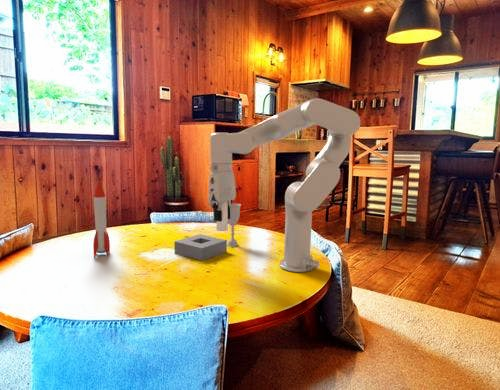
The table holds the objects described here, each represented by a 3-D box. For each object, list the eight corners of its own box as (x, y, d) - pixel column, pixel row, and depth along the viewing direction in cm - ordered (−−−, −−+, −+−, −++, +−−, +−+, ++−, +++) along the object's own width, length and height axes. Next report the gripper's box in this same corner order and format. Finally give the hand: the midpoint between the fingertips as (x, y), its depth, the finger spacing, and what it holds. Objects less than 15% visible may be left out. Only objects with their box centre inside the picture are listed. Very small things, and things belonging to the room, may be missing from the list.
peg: (230, 229, 133) (229, 196, 132) (222, 231, 130) (222, 197, 128) (221, 227, 136) (221, 195, 134) (214, 230, 133) (213, 196, 131)
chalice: (233, 248, 160) (233, 207, 157) (221, 245, 164) (221, 205, 161) (243, 244, 165) (244, 204, 163) (231, 241, 169) (232, 202, 167)
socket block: (226, 251, 154) (226, 240, 154) (201, 260, 142) (201, 248, 142) (200, 245, 163) (200, 234, 162) (174, 253, 151) (174, 241, 150)
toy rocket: (93, 257, 144) (89, 180, 139) (95, 253, 149) (91, 178, 144) (109, 256, 145) (105, 180, 140) (110, 252, 150) (107, 178, 146)
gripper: (213, 170, 121) (214, 225, 124) (244, 167, 134) (244, 217, 137) (196, 169, 125) (198, 222, 128) (228, 166, 139) (228, 214, 141)
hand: (222, 219), depth 132 cm, fingers closed on peg, 4 cm apart
